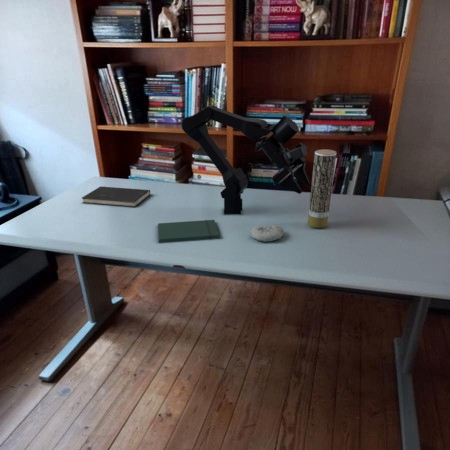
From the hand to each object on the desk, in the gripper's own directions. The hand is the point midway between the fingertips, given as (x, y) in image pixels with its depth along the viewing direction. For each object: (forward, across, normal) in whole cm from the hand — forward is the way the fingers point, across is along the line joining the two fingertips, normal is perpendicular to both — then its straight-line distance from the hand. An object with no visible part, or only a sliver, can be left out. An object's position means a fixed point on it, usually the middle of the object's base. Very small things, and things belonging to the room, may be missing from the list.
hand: (305, 189), depth 142 cm
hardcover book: (-46, -7, +63) cm, 79 cm away
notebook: (-15, -24, +32) cm, 43 cm away
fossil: (+4, -17, +13) cm, 22 cm away
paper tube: (+13, 0, +5) cm, 14 cm away
